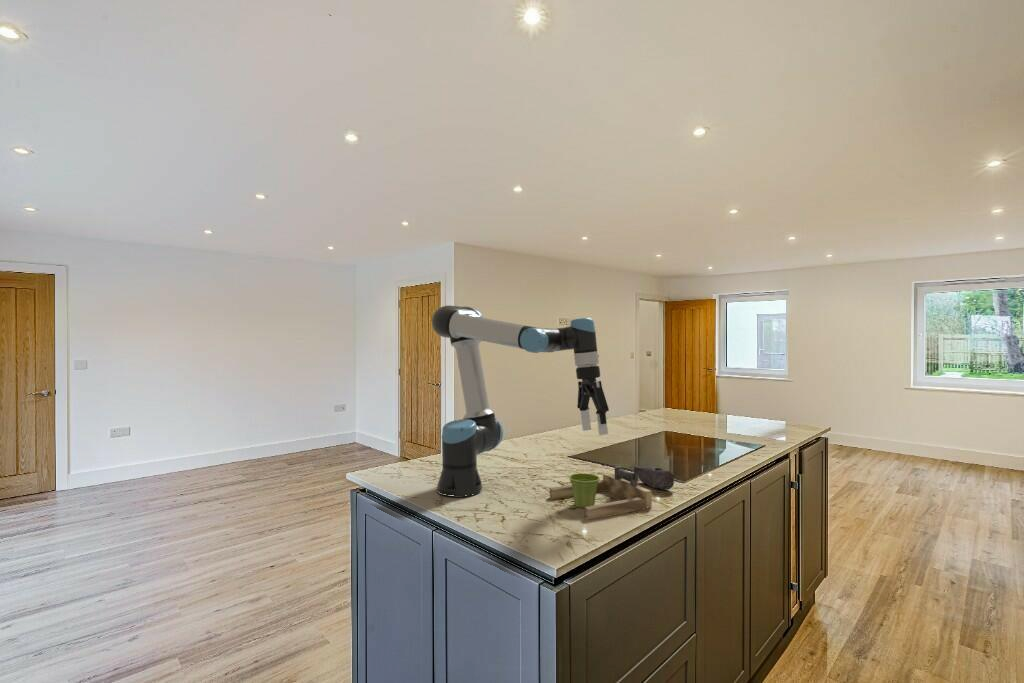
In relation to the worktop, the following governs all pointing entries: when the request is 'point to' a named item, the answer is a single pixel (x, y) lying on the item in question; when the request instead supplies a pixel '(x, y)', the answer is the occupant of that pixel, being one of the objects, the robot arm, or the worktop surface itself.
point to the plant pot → (584, 488)
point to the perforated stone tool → (656, 477)
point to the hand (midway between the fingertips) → (594, 432)
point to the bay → (615, 484)
